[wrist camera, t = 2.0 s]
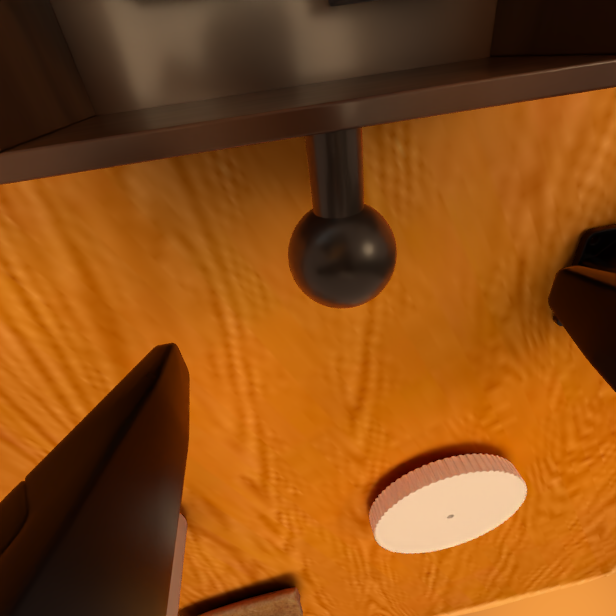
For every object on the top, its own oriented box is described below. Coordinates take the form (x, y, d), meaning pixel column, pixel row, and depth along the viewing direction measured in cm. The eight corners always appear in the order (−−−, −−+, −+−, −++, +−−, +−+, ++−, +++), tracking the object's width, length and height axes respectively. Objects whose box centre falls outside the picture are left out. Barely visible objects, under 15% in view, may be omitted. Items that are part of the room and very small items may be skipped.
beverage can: (84, 515, 27) (-2, 767, 18) (158, 486, 27) (112, 730, 17) (137, 544, 31) (90, 767, 21) (203, 519, 30) (187, 736, 21)
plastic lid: (340, 524, 35) (347, 553, 33) (416, 433, 28) (430, 462, 26) (452, 528, 40) (464, 553, 38) (539, 451, 33) (559, 477, 31)
